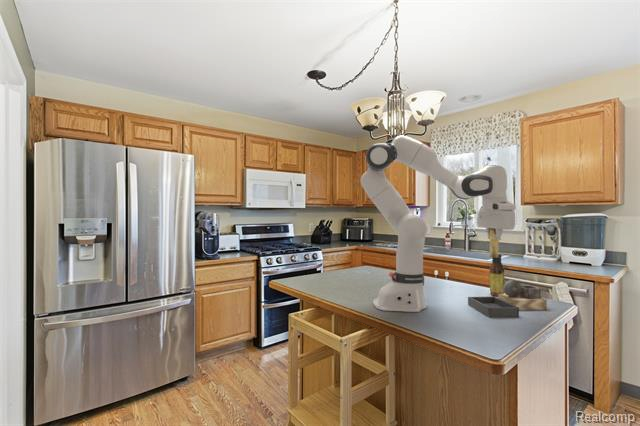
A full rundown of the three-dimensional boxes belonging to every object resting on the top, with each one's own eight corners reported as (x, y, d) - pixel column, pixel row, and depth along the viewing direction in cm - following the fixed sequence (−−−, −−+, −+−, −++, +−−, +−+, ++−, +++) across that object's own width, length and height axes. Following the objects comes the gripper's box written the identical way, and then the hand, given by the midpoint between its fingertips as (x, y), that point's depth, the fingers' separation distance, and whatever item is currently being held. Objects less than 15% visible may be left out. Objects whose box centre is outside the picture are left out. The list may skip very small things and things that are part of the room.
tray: (518, 316, 119) (518, 307, 119) (489, 317, 119) (489, 308, 118) (494, 304, 135) (494, 296, 135) (468, 305, 134) (468, 296, 134)
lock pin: (492, 257, 125) (493, 227, 125) (488, 256, 128) (488, 227, 128) (500, 257, 125) (500, 227, 125) (495, 256, 128) (495, 227, 128)
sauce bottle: (506, 297, 145) (506, 254, 145) (492, 296, 147) (492, 254, 146) (501, 293, 152) (501, 253, 152) (487, 293, 153) (487, 252, 153)
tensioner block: (512, 310, 127) (512, 283, 127) (497, 302, 137) (497, 277, 137) (546, 309, 128) (546, 282, 127) (529, 302, 138) (529, 277, 137)
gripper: (473, 205, 137) (472, 237, 137) (502, 205, 116) (502, 242, 116) (487, 206, 137) (486, 237, 137) (518, 205, 116) (518, 242, 117)
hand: (494, 239), depth 126 cm, fingers closed on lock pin, 3 cm apart
